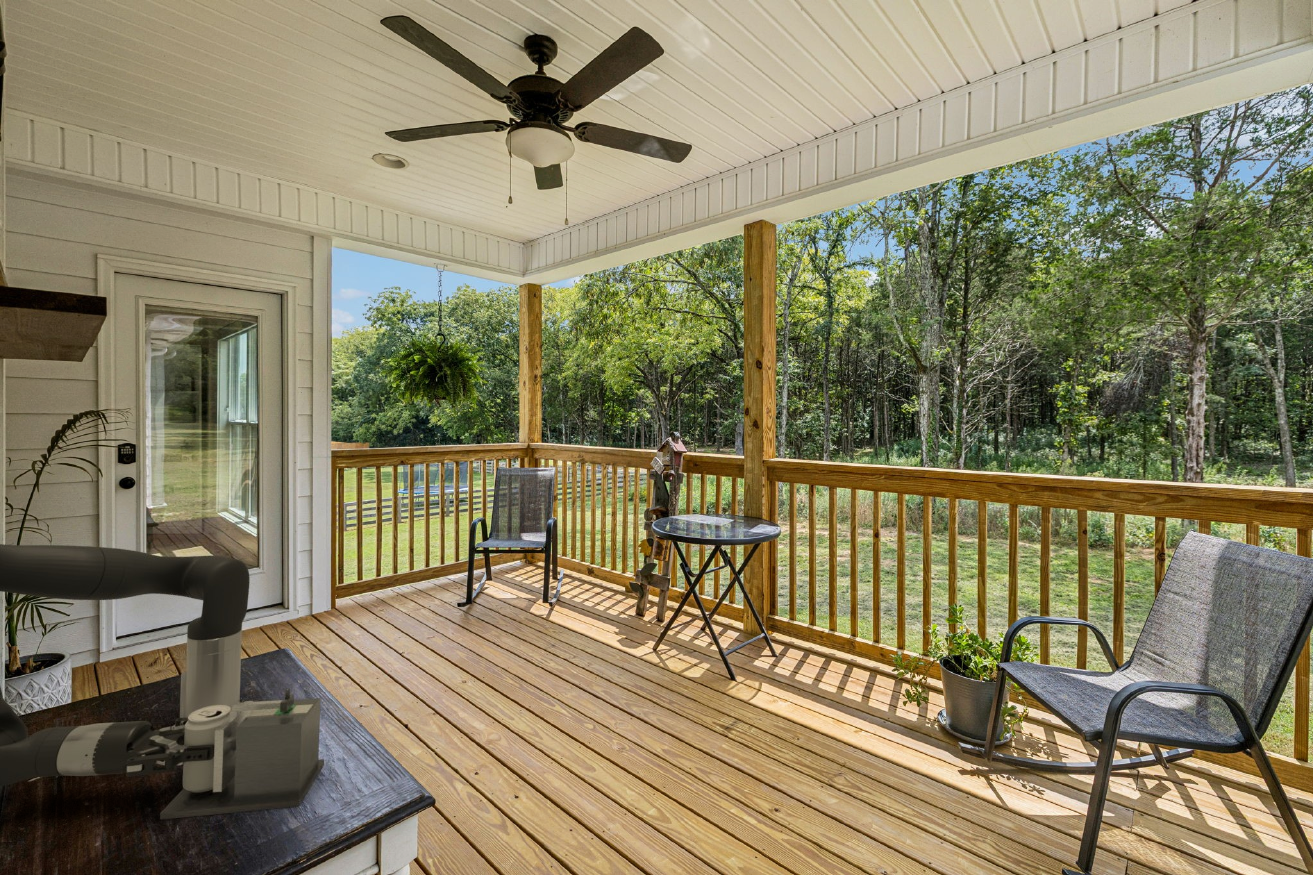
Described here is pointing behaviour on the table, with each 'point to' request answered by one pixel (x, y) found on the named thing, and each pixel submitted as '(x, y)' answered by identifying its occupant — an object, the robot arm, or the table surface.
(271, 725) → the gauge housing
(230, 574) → the robot arm
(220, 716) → the beverage can
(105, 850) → the table surface
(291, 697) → the peak needle
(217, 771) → the paddle
